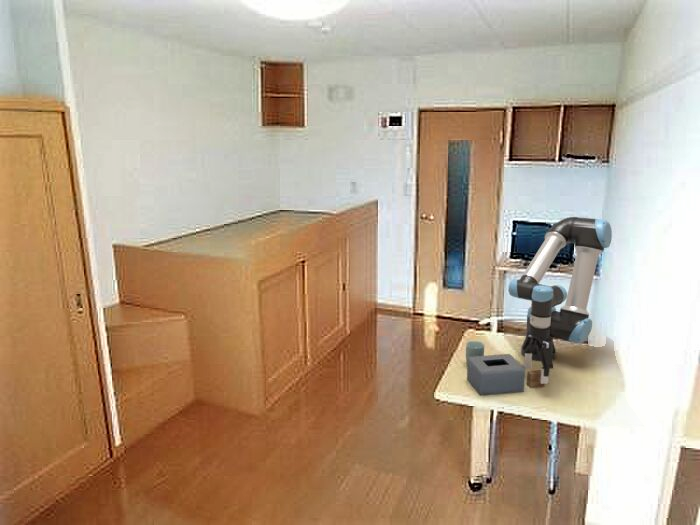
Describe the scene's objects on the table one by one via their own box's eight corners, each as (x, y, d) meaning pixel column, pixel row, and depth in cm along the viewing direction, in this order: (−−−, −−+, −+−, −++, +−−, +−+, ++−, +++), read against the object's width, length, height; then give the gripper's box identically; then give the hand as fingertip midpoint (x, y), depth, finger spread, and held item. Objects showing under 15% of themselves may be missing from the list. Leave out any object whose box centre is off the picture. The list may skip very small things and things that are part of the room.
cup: (483, 370, 222) (484, 348, 219) (465, 368, 223) (466, 347, 221) (483, 362, 229) (484, 341, 227) (465, 361, 231) (466, 340, 228)
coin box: (507, 375, 216) (509, 353, 214) (523, 391, 203) (525, 368, 200) (466, 379, 214) (467, 357, 211) (480, 395, 200) (481, 372, 198)
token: (540, 383, 209) (541, 369, 208) (544, 386, 206) (545, 373, 205) (526, 384, 209) (527, 371, 207) (530, 388, 206) (531, 374, 204)
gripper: (516, 315, 213) (512, 363, 218) (547, 337, 189) (542, 390, 193) (533, 314, 214) (529, 362, 219) (566, 336, 190) (561, 389, 195)
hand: (535, 375), depth 206 cm, fingers open, 13 cm apart
